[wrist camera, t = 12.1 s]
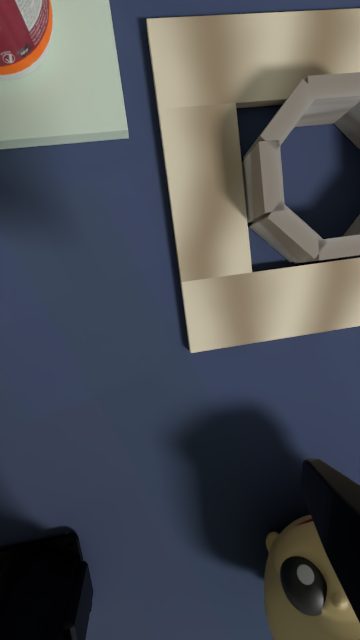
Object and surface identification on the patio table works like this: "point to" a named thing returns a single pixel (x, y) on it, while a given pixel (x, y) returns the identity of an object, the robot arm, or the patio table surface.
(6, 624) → the robot arm
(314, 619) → the beige toy figure
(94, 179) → the patio table surface
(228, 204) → the collar plate
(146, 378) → the patio table surface
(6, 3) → the pill bottle
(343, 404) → the patio table surface
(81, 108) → the green mat
